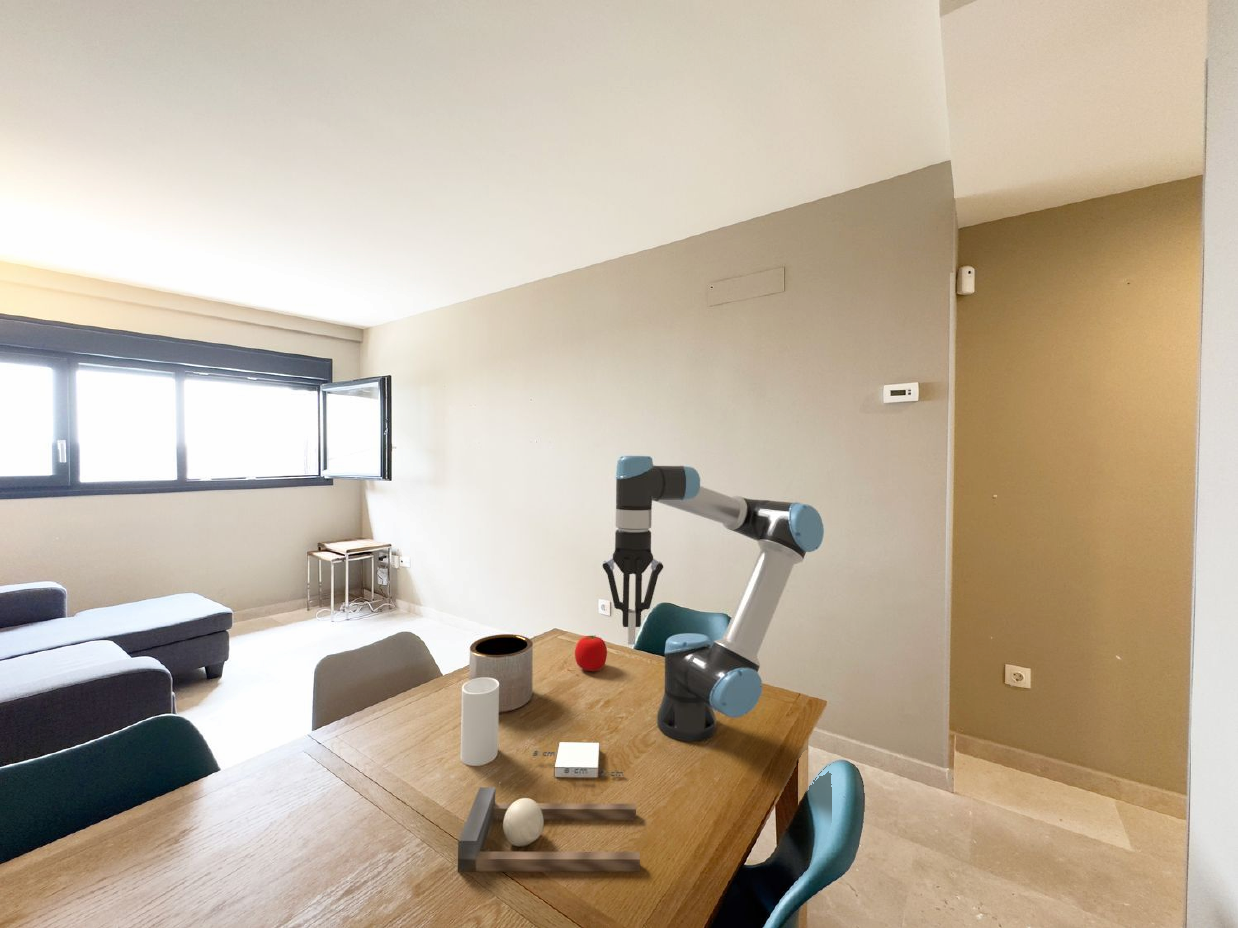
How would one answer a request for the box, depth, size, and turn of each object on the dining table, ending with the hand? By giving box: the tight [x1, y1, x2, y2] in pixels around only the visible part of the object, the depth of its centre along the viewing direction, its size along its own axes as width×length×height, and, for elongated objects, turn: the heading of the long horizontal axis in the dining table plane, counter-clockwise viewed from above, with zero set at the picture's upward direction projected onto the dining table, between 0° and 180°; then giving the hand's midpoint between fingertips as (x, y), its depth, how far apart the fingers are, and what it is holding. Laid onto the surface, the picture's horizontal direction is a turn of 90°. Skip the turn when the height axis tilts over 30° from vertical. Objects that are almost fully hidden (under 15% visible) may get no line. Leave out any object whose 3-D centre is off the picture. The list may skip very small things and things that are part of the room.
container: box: [532, 741, 624, 778], centre depth 106 cm, size 20×12×3 cm, turn 91°
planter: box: [468, 633, 534, 714], centre depth 136 cm, size 18×18×16 cm
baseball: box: [502, 797, 545, 847], centre depth 85 cm, size 7×7×7 cm
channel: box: [457, 786, 641, 872], centre depth 85 cm, size 30×13×5 cm, turn 91°
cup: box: [460, 678, 500, 767], centre depth 110 cm, size 8×8×16 cm
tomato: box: [574, 634, 608, 672], centre depth 157 cm, size 10×11×11 cm
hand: (631, 641), depth 99 cm, fingers closed
